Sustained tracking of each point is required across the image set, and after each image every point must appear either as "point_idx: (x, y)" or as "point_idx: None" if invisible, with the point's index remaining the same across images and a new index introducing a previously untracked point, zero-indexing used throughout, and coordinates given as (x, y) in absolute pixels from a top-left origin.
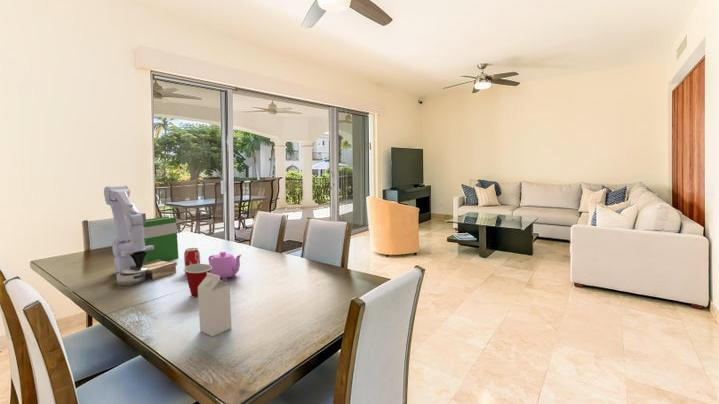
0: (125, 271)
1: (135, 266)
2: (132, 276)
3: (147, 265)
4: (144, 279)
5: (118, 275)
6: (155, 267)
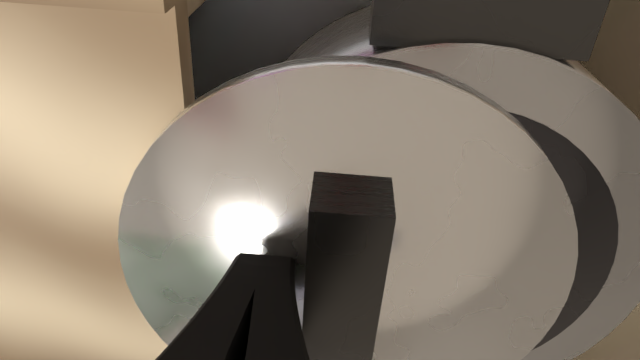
0: (502, 324)
1: (344, 321)
2: (589, 77)
3: (54, 329)
4: (322, 35)
5: (610, 309)
6: (10, 125)
